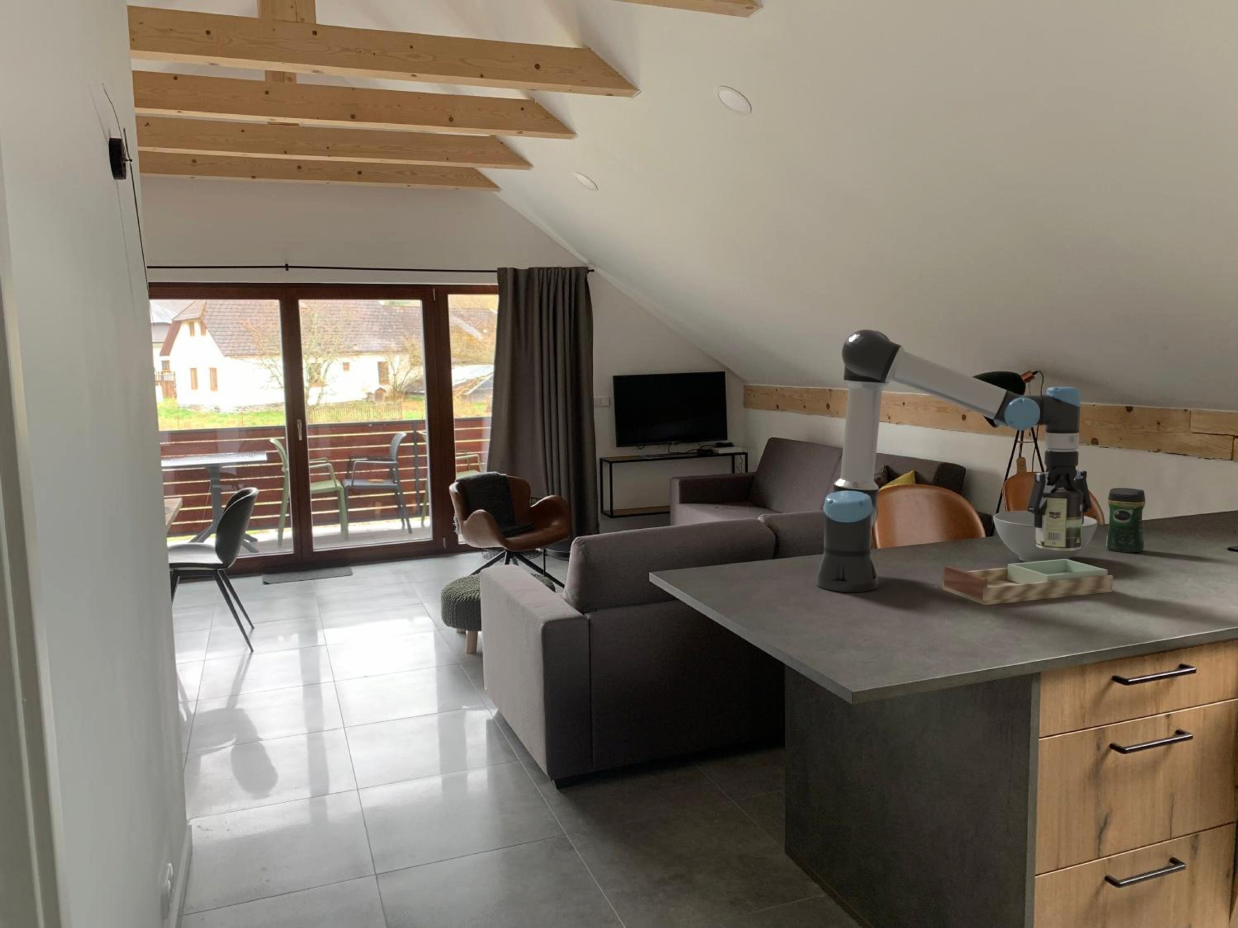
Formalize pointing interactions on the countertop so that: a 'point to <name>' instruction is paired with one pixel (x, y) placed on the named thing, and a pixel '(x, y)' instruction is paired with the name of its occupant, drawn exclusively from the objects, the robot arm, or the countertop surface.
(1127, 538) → the coffee jar
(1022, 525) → the decorative bowl
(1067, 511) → the coffee can
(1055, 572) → the mint green tray
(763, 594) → the countertop surface
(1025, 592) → the bay
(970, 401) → the robot arm
